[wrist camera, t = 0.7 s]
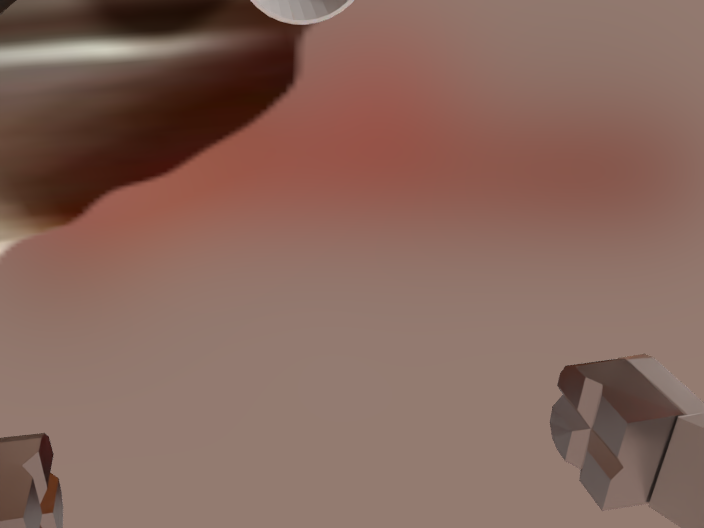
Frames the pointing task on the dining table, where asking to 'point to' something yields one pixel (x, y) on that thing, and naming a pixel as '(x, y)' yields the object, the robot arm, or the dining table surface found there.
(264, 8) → the coffee mug
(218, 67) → the dining table surface
